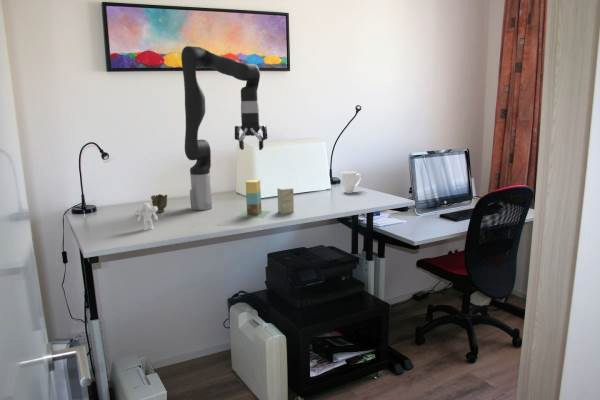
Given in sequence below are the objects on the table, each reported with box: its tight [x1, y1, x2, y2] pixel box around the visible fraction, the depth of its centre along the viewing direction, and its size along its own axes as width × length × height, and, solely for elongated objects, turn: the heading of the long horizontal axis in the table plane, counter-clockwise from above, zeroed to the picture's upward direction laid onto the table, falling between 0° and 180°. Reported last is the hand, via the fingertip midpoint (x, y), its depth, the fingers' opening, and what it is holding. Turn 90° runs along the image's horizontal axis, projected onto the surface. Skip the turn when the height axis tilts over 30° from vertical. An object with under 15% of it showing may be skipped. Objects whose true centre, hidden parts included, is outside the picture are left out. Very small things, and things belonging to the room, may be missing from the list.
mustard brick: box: [245, 179, 261, 194], centre depth 210 cm, size 5×5×5 cm
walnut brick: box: [246, 201, 263, 215], centre depth 212 cm, size 5×5×5 cm
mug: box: [340, 170, 362, 194], centre depth 259 cm, size 12×8×11 cm
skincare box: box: [277, 186, 295, 215], centre depth 214 cm, size 6×4×12 cm
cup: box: [150, 193, 168, 213], centre depth 225 cm, size 8×7×8 cm
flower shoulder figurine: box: [134, 199, 159, 231], centre depth 195 cm, size 9×4×12 cm, turn 112°
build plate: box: [237, 209, 272, 219], centre depth 212 cm, size 12×12×1 cm
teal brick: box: [245, 190, 262, 205], centre depth 211 cm, size 5×5×5 cm
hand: (251, 149), depth 206 cm, fingers open, 8 cm apart
